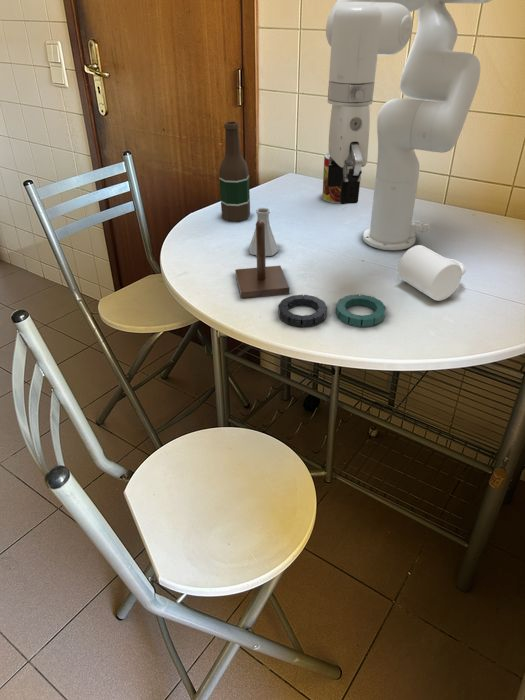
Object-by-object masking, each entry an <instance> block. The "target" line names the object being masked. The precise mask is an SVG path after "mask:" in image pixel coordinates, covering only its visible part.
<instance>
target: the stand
mask: <svg viewBox="0 0 525 700" xmlns="http://www.w3.org/2000/svg"><path fill="white" fill-rule="evenodd" d="M255 229H256V250H257V255H256V267H249V268H237V269H235V271H234V272H235V278H236V282H237V287H238V291H239V295H240V299H249V298H257V297H258V298H259V297H269V296H279V295H289V294H290V286H289V283H288V281H287V278H286V275H285V273H284V271H283V268H282V266H281V265H270V266H269V265H268V266H266V263H267V261H266V256H265V223H264V222H263V221H262V220H259V221H257V220H256V222H255Z"/></svg>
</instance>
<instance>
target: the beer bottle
mask: <svg viewBox="0 0 525 700" xmlns="http://www.w3.org/2000/svg"><path fill="white" fill-rule="evenodd" d="M223 128H224V129H225V131H224V132H225V133H224V134H225V135H224V137H225V138H224V139H225V140H224V141H225V142H224V143H225V144H224V145H225V146H224V147H225V149H224V150H225V151H224V158H223V159H222V162H221V163H220V165H219V171H218V172H219V174H218V180H219V197H220V211H221V217H222V219H223V220H225V221H227V222H231V223H232V222H233V223H240V222H243V221H247V220H248V219H249V216H250V215H251V196H250V195H251V194H250V193H251V191H250V171H249V166H248V164H247V161H246V160H245V158H244V157H243V156H242V151H241V144H240V143H241V141H240V134H239V128H240V124H239V122H237V121H232V120H231V121H226V122H225V123H224V126H223Z"/></svg>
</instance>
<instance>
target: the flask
mask: <svg viewBox="0 0 525 700" xmlns="http://www.w3.org/2000/svg"><path fill="white" fill-rule="evenodd" d="M270 211H271V210H270V208H267V207H258V208H256V210H255V212H256V216H257V220H256V222H257V221H259V220H262V221H263V222H264V223H265V257H270V256H274V255H276V254H277V253H278V252H279V247H278V245H277V241H276V239H275V237H274V234H273V231H272V228H271V224H270V217H269V216H270V213H271V212H270ZM248 252H249V254H250V255H254V256H257V250H256V228H255V229H254V231H253V235H252V238H251V240H250V243H249V247H248Z"/></svg>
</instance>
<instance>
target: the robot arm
mask: <svg viewBox="0 0 525 700" xmlns="http://www.w3.org/2000/svg"><path fill="white" fill-rule="evenodd" d="M491 1H492V0H336V1H335V3H334V4H333V5H332V7H331V9H330V11H329V14H328V16H327V19H326V25H325V38H326V41H327V43H328V45H329V46H330V59H329V74H328V86H327V87H328V89H327V104H330V105H331V110H330V120H329V131H328V148H327V149H328V153H329V155H330V157H329V164H332V165H329V166H328V180H327V185H328V186H329V187H336V186H341V193H340V203H339V204H341V205H349V204H350V205H352V204H353V205H354V204H357V203H358V202H359V197H360V196H359V195H360V187H361V181H362V173H363V171H362V168H365V167H366V165H367V164H368V158H369V157H368V156H369V143H370V142H369V141H370V125H371V123H370V119H371V117H370V116H371V115H370V114H371V113H370V106H371V105H373V102H374V101H373V100H374V91H375V83H376V82H375V81H376V72H377V65H378V56H393V55H396V54H398V53H400V52H401V51H403V49H404V48H405V47H406V46H407V45H408V43H409V41H410V39H411V36H412V32H413V18H412V17H413V16H412V12H414V11H415V12H416V15H417V29H416V33H415V36H414V39H413V41H412V45H411V47H410V50H409V52H408V55H407V58H406V60H405V64H404V67H403V68H402V72H401V75H400V80H399V89H400V92H401V93H402V94H403V96H405V97H406V98H404V97H403V98H401V97H399V98H393V99H390V100H388V101H386V102H385V103H384V104H383V105H382V106H381V107H380V110H379V111H378V114H377V119H376V135H377V137H376V138H377V159H376V162H377V163H376V170H375V180H374V189H373V190H374V191H373V198H372V207H371V208H372V209H371V215H370V227H368V228H367V229H366V228H365V230H364V231H363V233H362V240H363V242H364V243H365V244H367V245H368V246H369V247H372V248H375V249H378V250H385V251H401V250H407V249H410V248H412V247H413V246H414V244H415V243H416V239H417V237H416V235H417V234H418V233H429V232H430V231H431V224H430V223H422V222H421V221H420V220H417V221H413V215H414V209H415V202H416V195H417V190H418V184H419V179H420V178H419V177H420V172H421V171H420V170H421V169H420V161H419V158H418V156H417V154H416V152H415V150H416V151H425V152H431V153H441V154H442V153H448V152H450V151H452V149H453V148H454V147H455V146H456V144H457V143H458V140H459V138H460V136H461V133H462V130H463V128H464V125H465V122H466V120H467V117H468V114H469V112H470V109H471V106H472V103H473V101H474V98H475V95H476V92H477V89H478V86H479V83H480V76H481V63H480V62H481V61H480V60H479V57H478V56H476V54H473V53H470V52H466V51H454V47H455V45H456V42H457V40H458V35H459V34H458V28H457V25H456V22H455V20H454V18H453V17H452V14H451V13H450V11H449V10H448V9H447V7H446V4H474V5H475V4H477V5H479V4H487V3H490V2H491ZM346 162H352V163H346ZM348 169H350V171H349V173H348Z"/></svg>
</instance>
